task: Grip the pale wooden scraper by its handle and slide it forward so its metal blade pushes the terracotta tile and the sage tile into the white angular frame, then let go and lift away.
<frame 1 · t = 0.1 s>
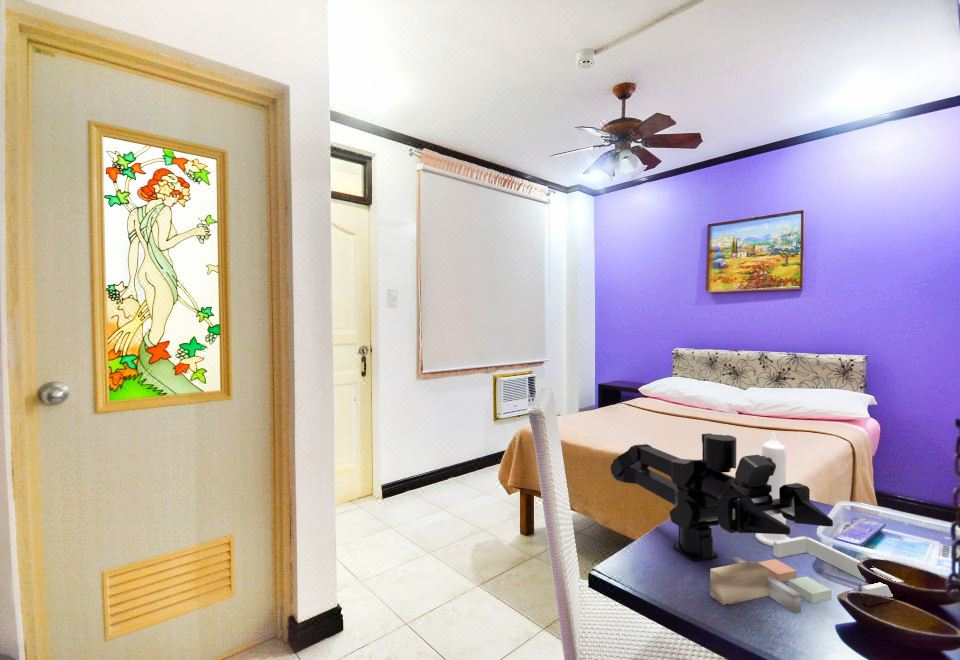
hand: (811, 527, 71), 17 cm above the table, tool horizontal, fingers open, 9 cm apart
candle: (773, 541, 101), on the table
tile sage: (809, 595, 81), on the table
tile terracotta: (776, 576, 87), on the table
scraper: (763, 590, 82), on the table
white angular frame: (833, 574, 87), on the table
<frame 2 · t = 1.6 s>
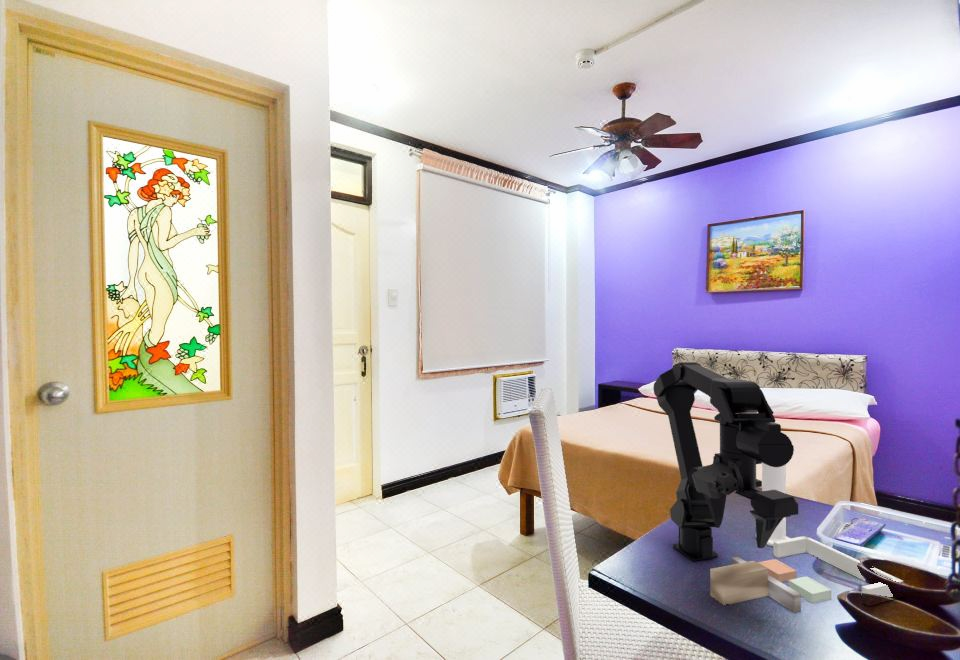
hand: (738, 535, 80), 11 cm above the table, tool pointing down, fingers open, 9 cm apart
nothing on the table moved.
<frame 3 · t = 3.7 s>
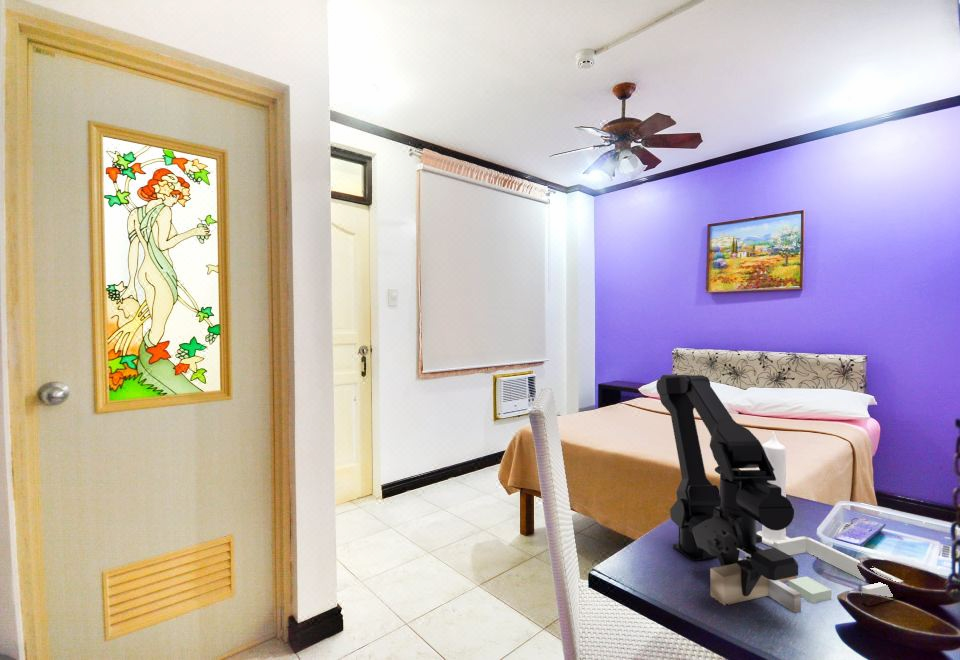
hand: (738, 590, 80), 1 cm above the table, tool pointing down, fingers closed on scraper, 3 cm apart
scraper: (763, 590, 82), on the table, touching gripper
everything else where it was.
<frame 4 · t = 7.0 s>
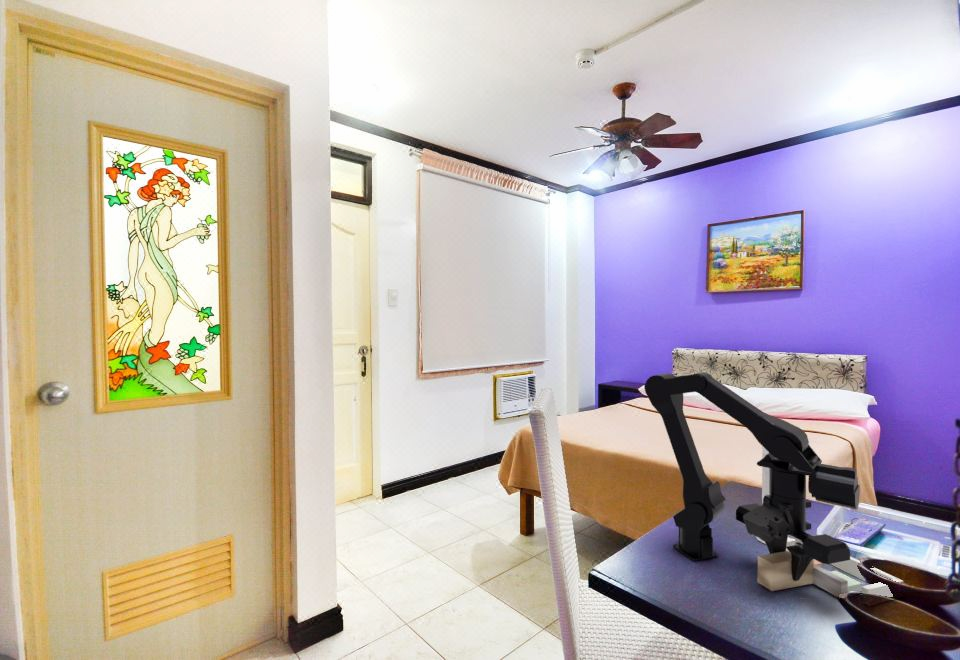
hand: (787, 575, 84), 2 cm above the table, tool pointing down, fingers closed on scraper, 3 cm apart
tile sage: (839, 589, 82), on the table
tile terracotta: (802, 568, 89), on the table
scraper: (808, 578, 85), on the table, touching gripper
everything else where it was.
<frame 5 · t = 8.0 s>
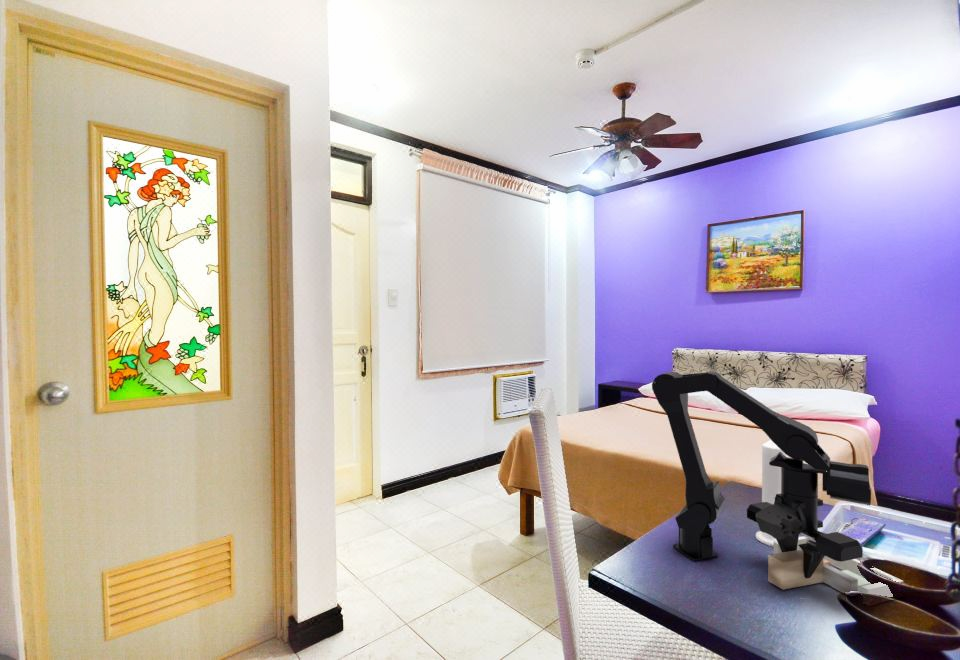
hand: (798, 572, 85), 2 cm above the table, tool pointing down, fingers closed on scraper, 3 cm apart
tile sage: (850, 588, 83), on the table
tile terracotta: (810, 567, 90), on the table
scraper: (818, 577, 86), on the table, touching gripper
everything else where it was.
when the fingers open (2 cm above the table, at t = 9.0 s): scraper stays where it is, on the table.
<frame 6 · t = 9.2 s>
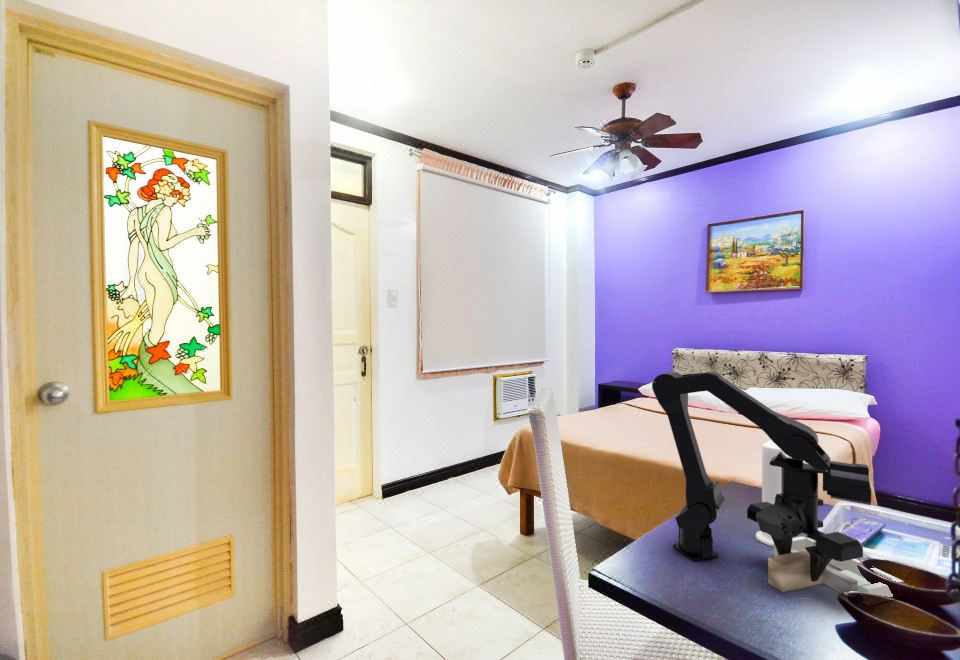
hand: (799, 572, 85), 2 cm above the table, tool pointing down, fingers open, 5 cm apart
scraper: (818, 578, 86), on the table
everything else where it was.
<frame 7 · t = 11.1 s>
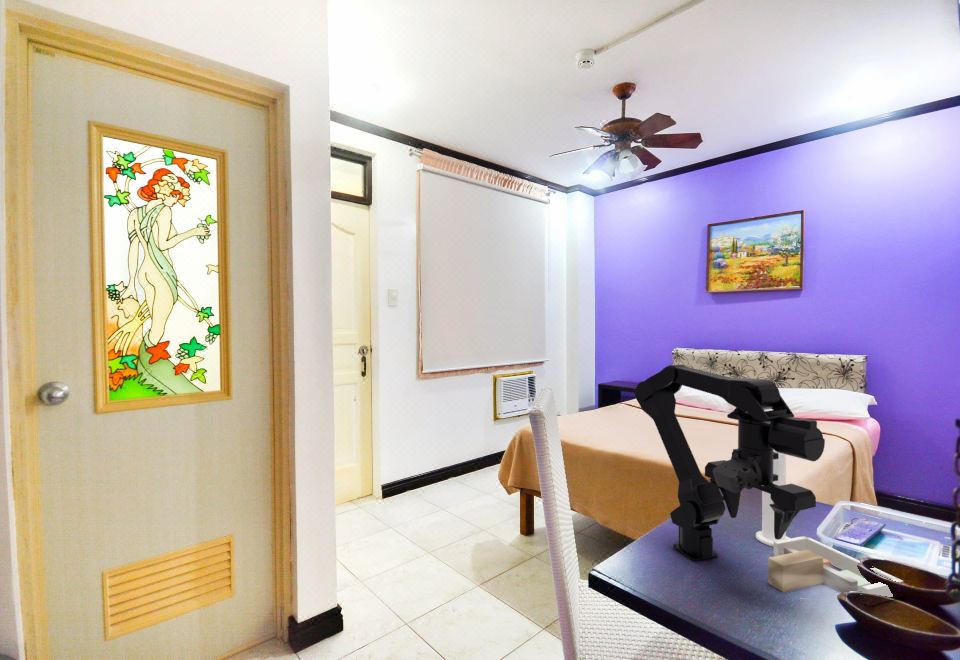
hand: (754, 527, 84), 11 cm above the table, tool pointing down, fingers open, 9 cm apart
nothing on the table moved.
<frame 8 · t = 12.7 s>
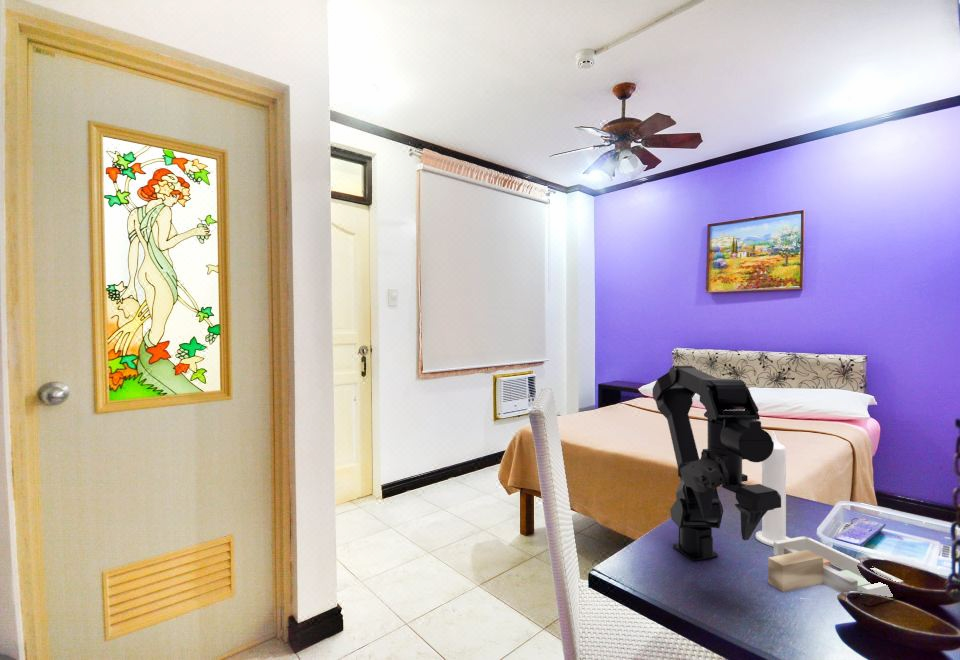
hand: (724, 528, 83), 11 cm above the table, tool pointing down, fingers open, 9 cm apart
nothing on the table moved.
at the end: tile terracotta inside the target area on the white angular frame (4.2 cm from its centre), point 0.0 cm above the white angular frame's base; tile sage inside the target area on the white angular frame (4.2 cm from its centre), point 0.0 cm above the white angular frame's base; the gripper is holding nothing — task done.
